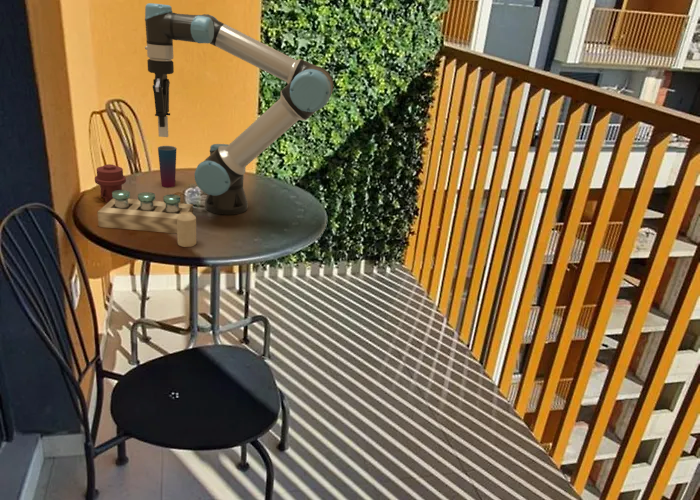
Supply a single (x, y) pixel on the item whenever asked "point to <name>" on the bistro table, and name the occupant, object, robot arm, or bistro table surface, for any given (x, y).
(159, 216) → the birch block
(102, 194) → the mechanical component
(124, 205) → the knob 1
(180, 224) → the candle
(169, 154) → the cup
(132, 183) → the bistro table surface
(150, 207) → the green lidded glass jar
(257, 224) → the bistro table surface
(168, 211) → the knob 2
